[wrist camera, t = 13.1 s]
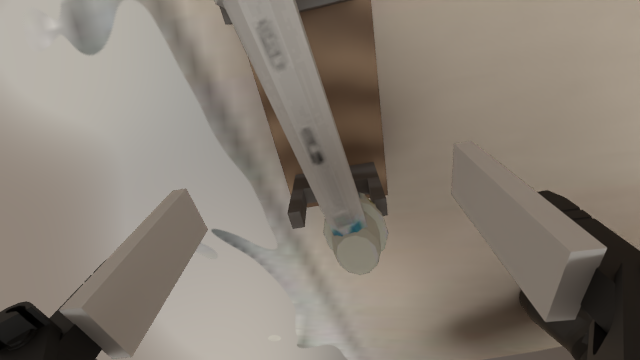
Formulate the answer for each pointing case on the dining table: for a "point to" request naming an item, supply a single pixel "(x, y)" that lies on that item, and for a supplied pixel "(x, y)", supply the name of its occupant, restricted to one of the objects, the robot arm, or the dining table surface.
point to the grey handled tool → (309, 126)
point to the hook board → (338, 99)
